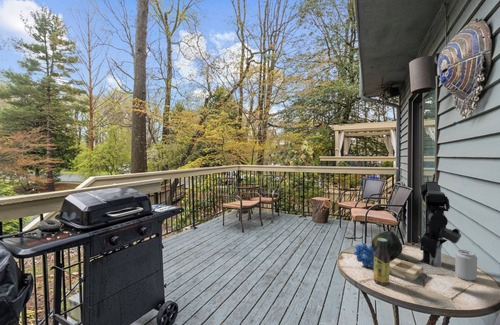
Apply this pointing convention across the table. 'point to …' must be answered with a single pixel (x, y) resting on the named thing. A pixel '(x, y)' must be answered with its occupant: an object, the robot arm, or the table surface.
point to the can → (466, 265)
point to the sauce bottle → (381, 263)
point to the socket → (406, 271)
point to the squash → (389, 243)
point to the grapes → (365, 254)
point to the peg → (436, 258)
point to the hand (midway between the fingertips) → (435, 256)
